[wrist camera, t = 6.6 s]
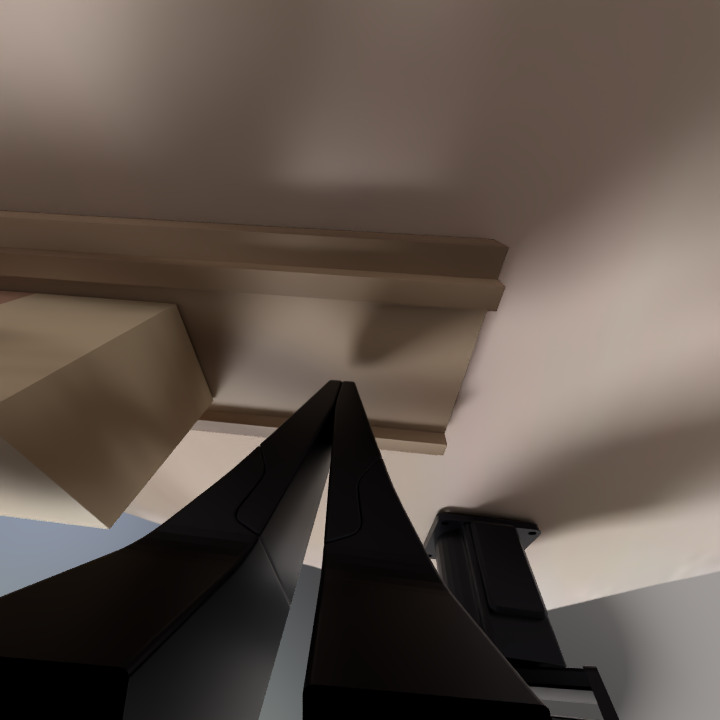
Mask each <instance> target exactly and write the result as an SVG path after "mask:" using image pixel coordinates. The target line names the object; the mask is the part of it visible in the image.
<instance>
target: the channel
mask: <svg viewBox="0 0 720 720" xmlns="http://www.w3.org/2000/svg"><path fill="white" fill-rule="evenodd" d="M508 248H509V247H507V246H505V245H503V244H501V243H499V242H498V241H496V240H494V239H479V238H462V237H445V236H427V235H410V234H393V233H376V232H358V231H341V230H324V229H306V228H289V227H272V226H255V225H237V224H220V223H203V222H186V221H168V220H151V219H134V218H116V217H99V216H82V215H65V214H47V213H30V212H13V211H0V291H14V292H27V293H40V294H53V295H66V296H79V297H93V298H106V299H119V300H132V301H145V302H158V303H171V304H176V306H177V308H178V311H179V313H180V316H181V319H182V321H183V324H184V326H185V329H186V331H187V334H188V336H189V339H190V342H191V344H192V347H193V349H194V352H195V354H196V357H197V359H198V362H199V364H200V367H201V370H202V372H203V375H204V377H205V380H206V382H207V385H208V387H209V390H210V392H211V395H212V398H213V400H214V401H213V402H212V403H211V404H210V406H209V407H208V408H207V409H206V411H205V412H204V413H203V414H202V416H201V417H200V418H199V419H198V421H197V422H196V423H195V424H194V425H193V427H192V428H191V429H190V430H197V431H207V432H216V433H226V434H236V435H245V436H255V437H265V438H268V437H269V436H270V435H271V434H272V433H273V432H274V431H275V430H276V429H277V428H279V427H280V426H281V425H282V424H283V423H284V422H285V421H286V420H287V419H288V418H289V417H290V416H291V415H293V414H294V413H295V412H296V411H297V410H298V409H299V408H300V407H301V406H302V405H303V404H304V403H306V402H307V401H308V400H309V399H310V398H311V397H312V396H313V395H314V394H315V393H316V392H317V391H319V390H320V389H321V388H322V387H323V386H324V385H325V384H326V383H327V382H328V381H329V380H341V381H342V382H343V381H353V382H355V384H356V387H357V389H358V392H359V395H360V398H361V401H362V403H363V406H364V409H365V412H366V414H367V417H368V420H369V423H370V425H371V428H372V431H373V434H374V436H375V439H376V442H377V445H378V448H379V449H381V450H391V451H400V452H410V453H420V454H430V455H444V452H445V449H446V446H447V442H446V438H445V434H444V433H445V430H446V427H447V424H448V422H449V419H450V416H451V413H452V410H453V407H454V404H455V401H456V398H457V395H458V393H459V390H460V387H461V384H462V381H463V378H464V375H465V372H466V369H467V367H468V364H469V361H470V358H471V355H472V352H473V349H474V346H475V343H476V341H477V338H478V335H479V332H480V329H481V326H482V323H483V320H484V317H485V315H486V312H487V311H497V308H498V306H499V303H500V300H501V298H502V295H503V292H504V289H505V287H506V286H504V285H503V284H502V283H501V282H500V281H499V280H498V277H499V274H500V271H501V268H502V265H503V262H504V260H505V257H506V254H507V251H508Z"/></svg>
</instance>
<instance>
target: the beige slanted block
mask: <svg viewBox="0 0 720 720" xmlns="http://www.w3.org/2000/svg"><path fill="white" fill-rule="evenodd" d="M213 401H214V400H213V398H212V395H211V392H210V390H209V387H208V385H207V382H206V380H205V377H204V375H203V372H202V370H201V367H200V364H199V362H198V359H197V357H196V354H195V352H194V349H193V347H192V344H191V342H190V339H189V336H188V334H187V331H186V329H185V326H184V324H183V321H182V319H181V316H180V313H179V311H178V308H177V306H176V304H171V303H158V302H145V301H132V300H119V299H106V298H93V297H79V296H66V295H53V294H40V293H35V294H32V295H29V296H26V297H22V298H19V299H16V300H13V301H9V302H6V303H3V304H0V515H2V516H10V517H17V518H25V519H33V520H41V521H49V522H57V523H64V524H72V525H80V526H88V527H97V528H105V529H110V528H111V527H112V525H113V524H114V523H115V522H116V520H117V519H118V518H119V517H120V516H121V514H122V513H123V512H124V511H125V509H126V508H127V507H128V506H129V504H130V503H131V502H132V501H133V500H134V498H135V497H136V496H137V495H138V493H139V492H140V491H141V490H142V488H143V487H144V486H145V485H146V484H147V482H148V481H149V480H150V479H151V477H152V476H153V475H154V474H155V472H156V471H157V470H158V469H159V467H160V466H161V465H162V464H163V463H164V461H165V460H166V459H167V458H168V456H169V455H170V454H171V453H172V451H173V450H174V449H175V448H176V446H177V445H178V444H179V443H180V442H181V440H182V439H183V438H184V437H185V435H186V434H187V433H188V432H189V430H190V429H191V428H192V427H193V425H194V424H195V423H196V422H197V421H198V419H199V418H200V417H201V416H202V414H203V413H204V412H205V411H206V409H207V408H208V407H209V406H210V404H211V403H212V402H213Z"/></svg>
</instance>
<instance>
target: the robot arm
mask: <svg viewBox="0 0 720 720" xmlns="http://www.w3.org/2000/svg"><path fill="white" fill-rule="evenodd" d="M329 469H330V473H329V486H328V499H327V511H326V524H325V537H324V549H323V561H322V570H321V579H320V586H319V593H318V599H317V605H316V612H315V618H314V625H313V632H312V638H311V644H310V651H309V657H308V663H307V670H306V676H305V682H304V689H303V720H596V719H587V718H576V717H567V716H558V715H550V711H549V709H548V708H547V707H546V705H545V704H544V703H543V702H542V701H541V700H540V699H544V700H556V701H567V702H579V703H591V704H598V706H599V709H600V711H601V714H602V716H603V718H604V720H619V718H618V716H617V713H616V711H615V709H614V707H613V704H612V702H611V700H610V697H609V695H608V693H607V690H606V688H605V686H604V684H603V682H602V679H601V677H600V675H599V672H598V670H597V668H596V666H583V668H584V669H580V668H579V669H578V668H566V663H565V661H564V658H563V656H562V653H561V650H560V647H559V645H558V642H557V639H556V636H555V634H554V631H553V629H552V626H551V623H550V620H549V618H548V613H547V610H546V607H545V604H544V601H543V599H542V596H541V593H540V591H539V588H538V585H537V583H536V580H535V577H534V575H533V572H532V569H531V567H530V564H529V561H528V558H527V556H526V553H525V549H526V548H527V547H528V546H529V545H530V544H531V543H532V542H533V541H534V540H535V539H536V538H537V537H538V536H539V535H540V534H541V532H540V529H539V527H538V525H537V524H535V523H528V522H519V521H511V520H502V519H493V518H484V517H476V516H467V515H458V514H450V513H440V514H438V515H437V516H436V518H435V520H434V523H433V525H432V527H431V529H430V532H429V534H428V536H427V538H426V541H425V543H424V545H423V544H422V542H421V540H420V538H419V537H418V535H417V533H416V531H415V529H414V527H413V525H412V523H411V521H410V519H409V517H408V515H407V513H406V511H405V510H404V508H403V506H402V504H401V501H400V499H399V497H398V495H397V493H396V491H395V489H394V487H393V484H392V482H391V479H390V477H389V474H388V472H387V469H386V466H385V464H384V461H383V459H382V456H381V453H380V450H379V448H378V445H377V442H376V439H375V436H374V434H373V431H372V428H371V425H370V423H369V420H368V417H367V414H366V412H365V409H364V406H363V403H362V401H361V398H360V395H359V392H358V389H357V387H356V384H355V382H353V381H343V382H342V381H341V380H329V381H328V382H327V383H326V384H325V385H324V386H323V387H322V388H321V389H320V390H319V391H317V392H316V393H315V394H314V395H313V396H312V397H311V398H310V399H309V400H308V401H307V402H306V403H304V404H303V405H302V406H301V407H300V408H299V409H298V410H297V411H296V412H295V413H294V414H293V415H291V416H290V417H289V418H288V419H287V420H286V421H285V422H284V423H283V424H282V425H281V426H280V427H279V428H277V429H276V430H275V431H274V432H273V433H272V434H271V435H270V436H269V437H268V438H267V439H266V440H264V441H263V442H262V443H261V444H260V446H258V447H257V448H256V449H255V450H254V451H252V452H251V453H250V454H249V455H248V456H247V457H246V458H245V459H244V460H242V461H241V462H240V463H239V464H238V465H237V466H236V467H234V468H233V469H232V470H231V471H230V472H228V473H227V474H226V475H225V476H223V477H222V478H221V479H220V480H219V481H217V482H216V483H215V484H214V485H212V486H211V487H210V488H208V489H207V490H206V491H205V492H203V493H202V494H201V495H199V496H198V497H197V498H195V499H194V500H193V501H192V502H190V503H189V504H188V505H186V506H185V507H184V508H183V509H181V510H180V511H179V512H177V513H176V514H175V515H173V516H172V517H171V518H170V519H168V520H167V521H166V522H164V523H163V524H162V525H160V526H159V527H158V528H156V529H155V530H153V531H152V532H151V533H149V534H147V535H146V536H144V537H143V538H141V539H139V540H137V541H136V542H134V543H132V544H130V545H128V546H126V547H124V548H122V549H120V550H118V551H115V552H112V553H110V554H107V555H105V556H102V557H100V558H97V559H95V560H92V561H90V562H87V563H85V564H82V565H80V566H77V567H75V568H72V569H70V570H67V571H65V572H62V573H60V574H57V575H55V576H52V577H50V578H47V579H45V580H42V581H39V582H37V583H35V584H32V585H29V586H27V587H24V588H22V589H19V590H17V591H14V592H12V593H9V594H7V595H4V596H2V597H0V720H258V719H259V715H260V711H261V708H262V705H263V701H264V697H265V694H266V690H267V687H268V683H269V680H270V676H271V673H272V669H273V666H274V662H275V658H276V655H277V652H278V648H279V645H280V641H281V638H282V634H283V631H284V627H285V624H286V620H287V617H288V613H289V610H290V605H291V602H292V598H293V595H294V592H295V588H296V585H297V581H298V578H299V574H300V571H301V567H302V564H303V560H304V557H305V553H306V550H307V546H308V542H309V539H310V535H311V532H312V528H313V525H314V521H315V518H316V514H317V511H318V507H319V504H320V500H321V497H322V493H323V490H324V486H325V483H326V479H327V476H328V472H329ZM431 559H436V562H437V570H438V572H437V570H436V568H435V567H434V565H433V563H432V561H431Z"/></svg>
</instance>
